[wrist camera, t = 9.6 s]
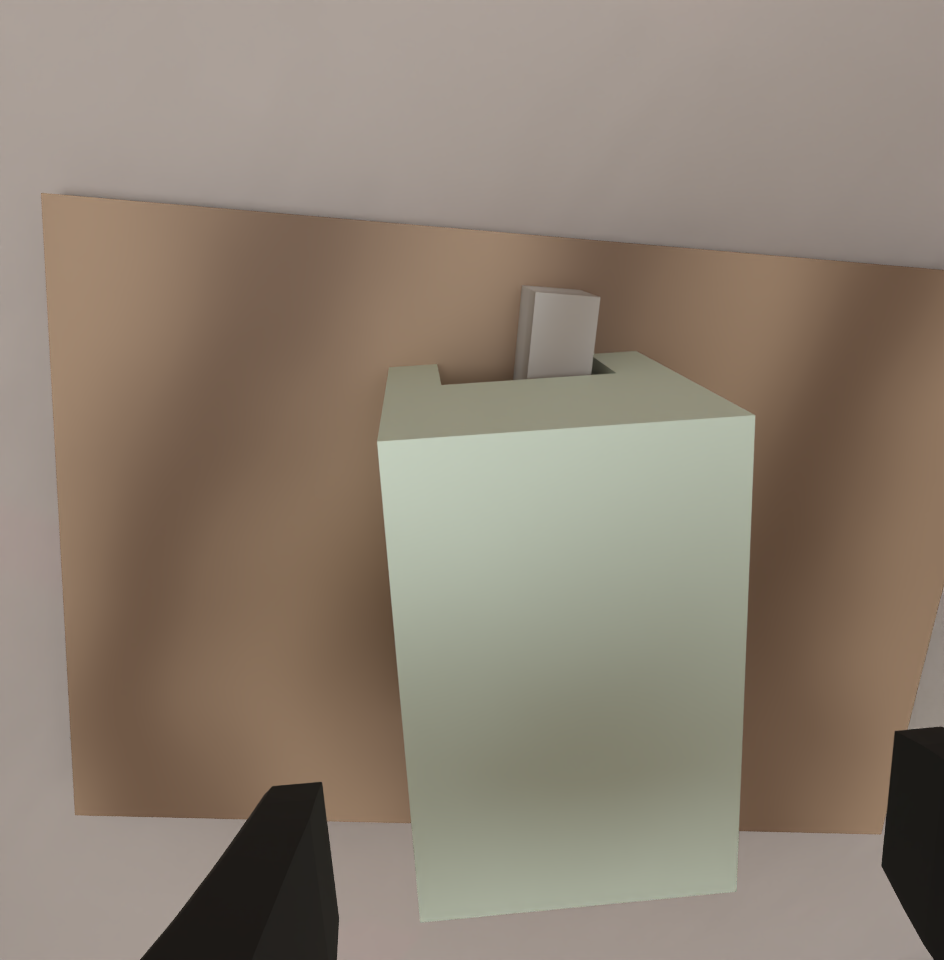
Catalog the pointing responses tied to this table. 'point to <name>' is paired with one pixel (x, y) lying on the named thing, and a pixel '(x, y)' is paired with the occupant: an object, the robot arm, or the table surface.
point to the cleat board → (358, 497)
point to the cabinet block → (568, 633)
